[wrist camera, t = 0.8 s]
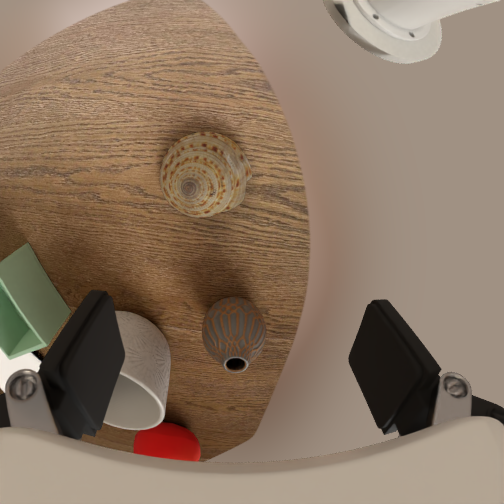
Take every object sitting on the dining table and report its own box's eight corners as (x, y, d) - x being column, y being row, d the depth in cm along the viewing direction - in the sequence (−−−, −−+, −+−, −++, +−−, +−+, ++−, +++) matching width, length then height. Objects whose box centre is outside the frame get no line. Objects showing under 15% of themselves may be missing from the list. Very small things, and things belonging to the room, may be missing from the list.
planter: (168, 300, 31) (148, 367, 21) (183, 371, 36) (175, 435, 26) (80, 298, 30) (41, 353, 20) (106, 366, 35) (85, 421, 25)
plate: (-39, 305, 29) (-43, 309, 27) (58, 345, 33) (54, 352, 31) (5, 395, 40) (3, 400, 38) (96, 433, 44) (94, 439, 42)
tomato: (127, 411, 40) (116, 456, 30) (192, 412, 40) (189, 462, 31) (150, 439, 44) (144, 479, 35) (208, 440, 44) (207, 483, 35)
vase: (271, 296, 32) (284, 347, 24) (249, 339, 34) (256, 392, 26) (214, 279, 30) (210, 329, 22) (197, 326, 33) (191, 378, 25)
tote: (28, 241, 26) (-6, 266, 19) (71, 311, 31) (47, 346, 24) (-7, 273, 27) (-34, 297, 20) (30, 331, 32) (9, 360, 25)
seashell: (264, 207, 25) (182, 236, 23) (239, 200, 30) (169, 223, 27) (247, 120, 22) (157, 140, 19) (223, 128, 27) (149, 146, 24)
